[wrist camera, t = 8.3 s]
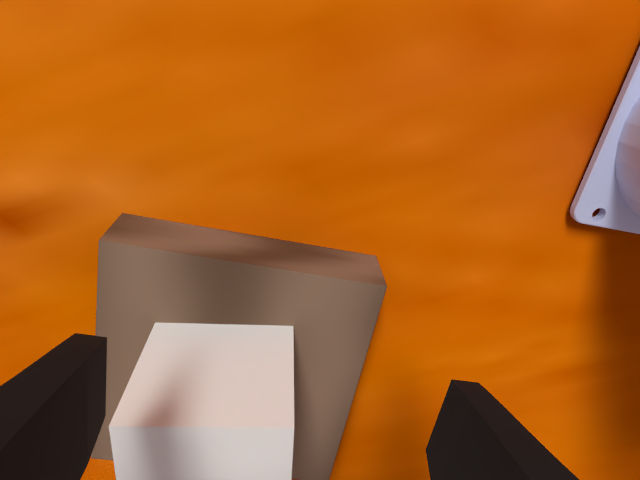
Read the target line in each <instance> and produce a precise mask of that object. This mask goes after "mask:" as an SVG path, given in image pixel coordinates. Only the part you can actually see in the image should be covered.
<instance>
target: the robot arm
mask: <svg viewBox="0 0 640 480" xmlns="http://www.w3.org/2000/svg"><path fill="white" fill-rule="evenodd" d="M598 208H600V211H599V213H598V214H597V215H596V216H594V217H592V214H593V212H594V211H595V210H596V209H598ZM570 216H571V217H572V218H573V219H574V220H575V221H577V222H579V223H581V224H587V225H592V226H598V227H603V228H609V229H614V230H620V231H625V232H631V233H636V234H640V47H639V49H638V51H637V54H636V56H635V58H634V61H633V63H632V65H631V68H630V70H629V72H628V75H627V77H626V79H625V82H624V84H623V86H622V89H621V91H620V93H619V96H618V98H617V100H616V103H615V105H614V107H613V110H612V112H611V114H610V117H609V119H608V121H607V123H606V126H605V128H604V130H603V133H602V135H601V137H600V140H599V142H598V144H597V147H596V149H595V151H594V154H593V156H592V158H591V161H590V163H589V165H588V168H587V170H586V172H585V175H584V177H583V179H582V182H581V184H580V186H579V189H578V191H577V193H576V196H575V198H574V200H573V203H572V205H571V208H570ZM106 369H107V337H101V336H93V335H85V334H76V333H75V334H74V335H72V336H71V337H69V338H68V339H66V340H65V341H64V342H62V343H61V344H59V345H58V346H56V347H55V348H54V349H52V350H51V351H49V352H48V353H47V354H45V355H44V356H43V357H41V358H40V359H38V360H37V361H36V362H34V363H33V364H31V365H30V366H29V367H27V368H26V369H24V370H23V371H22V372H20V373H19V374H17V375H16V376H15V377H13V378H12V379H10V380H9V381H7V382H6V383H4V384H3V385H1V386H0V480H80V479H81V477H82V475H83V473H84V471H85V469H86V467H87V464H88V462H89V459H90V457H91V454H92V451H93V449H94V446H95V444H96V441H97V438H98V435H99V433H100V430H101V427H102V424H103V422H104V419H105V416H106ZM426 453H427V460H428V466H429V472H430V478H431V480H579V479H578V478H577V477H576V476H575V475H574V474H572V473H571V472H570V471H569V470H568V469H567V468H566V467H565V466H564V465H563V464H562V463H561V462H560V461H559V460H558V459H557V458H555V457H554V456H553V455H552V454H551V453H550V452H549V451H548V450H547V449H546V448H545V447H544V446H543V445H542V444H541V443H540V442H539V441H538V440H537V439H536V438H535V437H534V436H533V435H532V434H531V433H530V432H529V431H528V430H527V429H526V428H525V427H524V426H523V425H522V424H521V423H520V422H519V421H518V420H517V419H516V418H515V417H514V416H513V415H512V414H511V413H510V412H509V411H508V410H507V409H506V408H505V407H504V406H503V405H502V404H501V403H500V402H499V401H498V400H497V399H495V398H494V397H493V396H492V395H491V394H490V393H489V392H488V391H487V390H486V389H485V388H484V387H483V386H481V385H480V384H479V383H476V382H468V381H460V380H451V383H450V385H449V388H448V391H447V394H446V396H445V399H444V402H443V404H442V407H441V410H440V412H439V415H438V418H437V421H436V423H435V426H434V429H433V431H432V434H431V437H430V440H429V442H428V445H427V448H426Z"/></svg>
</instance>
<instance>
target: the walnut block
mask: <svg viewBox="0 0 640 480" xmlns="http://www.w3.org/2000/svg"><path fill="white" fill-rule="evenodd" d="M386 288H387V285H386V282H385V279H384V277H383V274H382V271H381V268H380V266H379V263H378V260H377V257H376V256H374V255H368V254H362V253H356V252H350V251H344V250H338V249H332V248H326V247H320V246H314V245H308V244H303V243H297V242H291V241H285V240H279V239H273V238H267V237H261V236H255V235H249V234H243V233H237V232H231V231H225V230H220V229H214V228H208V227H202V226H196V225H190V224H184V223H178V222H172V221H166V220H160V219H154V218H148V217H142V216H137V215H131V214H125V213H122V214H121V215H120V216H119V218H118V219H117V220H116V221H115V222H114V223H113V224H112V226H111V227H110V228H109V229H108V230H107V231H106V233H105V234H104V235H103V236H102V237H101V238H100V240H99V254H98V282H97V311H96V336H101V337H107V369H106V416H105V419H104V422H103V424H102V427H101V430H100V433H99V435H98V438H97V441H96V444H95V446H94V449H93V451H92V454H91V458H94V459H104V460H113V453H112V446H111V439H110V432H109V425H110V422H111V420H112V418H113V416H114V413H115V411H116V409H117V407H118V404H119V402H120V400H121V398H122V395H123V393H124V391H125V389H126V387H127V384H128V382H129V380H130V378H131V375H132V373H133V371H134V369H135V366H136V364H137V362H138V360H139V357H140V355H141V353H142V351H143V349H144V346H145V344H146V342H147V340H148V337H149V335H150V333H151V331H152V328H153V326H154V324H155V323H196V324H238V325H279V326H293V332H294V443H293V460H292V477H291V479H299V480H329V478H330V474H331V471H332V468H333V464H334V461H335V458H336V454H337V451H338V448H339V444H340V441H341V438H342V434H343V431H344V428H345V424H346V421H347V418H348V414H349V411H350V408H351V404H352V401H353V398H354V394H355V391H356V388H357V384H358V381H359V378H360V374H361V371H362V368H363V364H364V361H365V358H366V354H367V351H368V348H369V344H370V341H371V338H372V334H373V331H374V328H375V324H376V321H377V318H378V314H379V311H380V308H381V304H382V301H383V298H384V294H385V291H386Z"/></svg>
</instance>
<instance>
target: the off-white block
mask: <svg viewBox="0 0 640 480" xmlns="http://www.w3.org/2000/svg"><path fill="white" fill-rule="evenodd" d="M109 432H110V439H111V446H112V453H113V460H114V467H115V475H116V480H291V477H292V460H293V443H294V332H293V326H279V325H238V324H196V323H155V324H154V326H153V328H152V331H151V333H150V335H149V337H148V340H147V342H146V344H145V346H144V349H143V351H142V353H141V355H140V357H139V360H138V362H137V364H136V366H135V369H134V371H133V373H132V375H131V378H130V380H129V382H128V384H127V387H126V389H125V391H124V393H123V395H122V398H121V400H120V402H119V404H118V407H117V409H116V411H115V413H114V416H113V418H112V420H111V422H110V425H109Z"/></svg>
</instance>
